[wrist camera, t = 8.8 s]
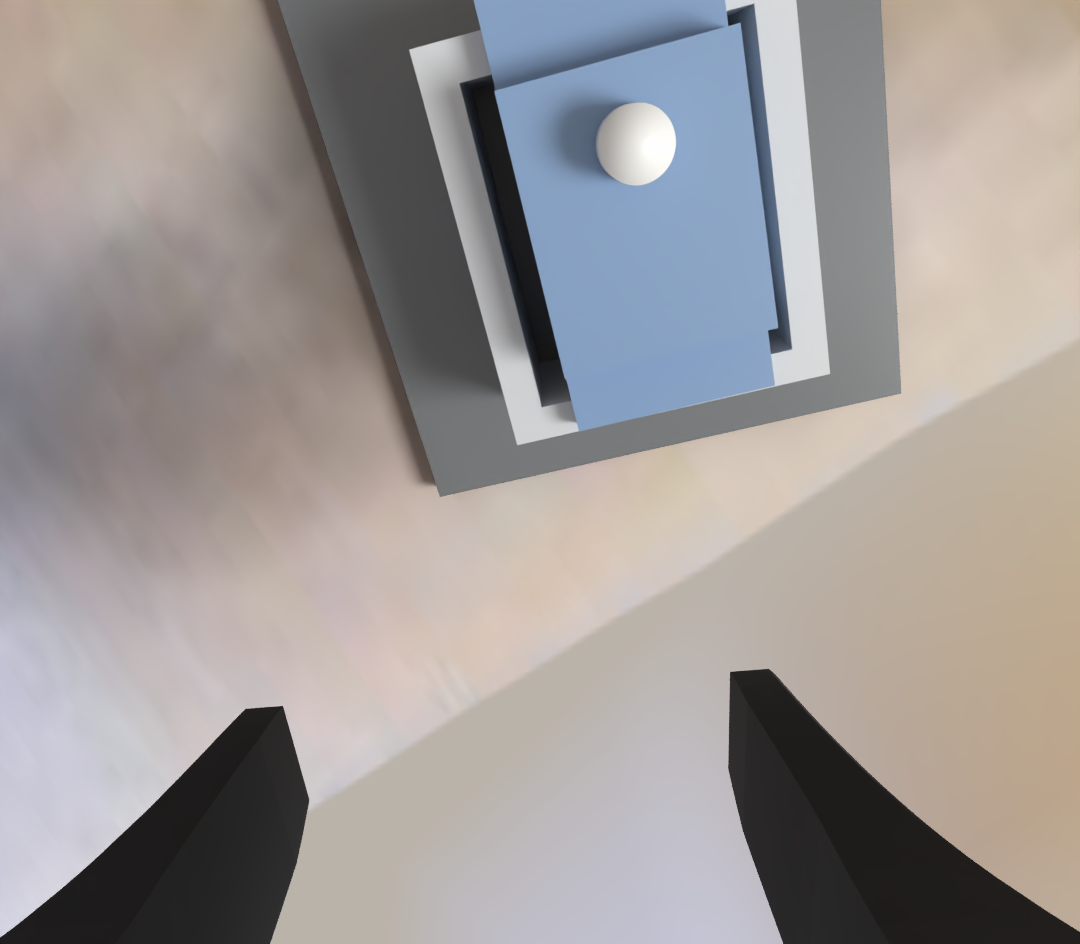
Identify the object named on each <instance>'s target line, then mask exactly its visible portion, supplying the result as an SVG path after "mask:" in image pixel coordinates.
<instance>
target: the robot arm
mask: <svg viewBox="0 0 1080 944" xmlns="http://www.w3.org/2000/svg"><path fill="white" fill-rule="evenodd" d="M729 714H730V716H729V766H728V768H729V773H730V778H731V782H732V787H733V791H734V795H735V800H736V804H737V808H738V812H739V816H740V820H741V824H742V828H743V832H744V835H745V838H746V841H747V844H748V846H749V849H750V852H751V855H752V858H753V861H754V863H755V866H756V869H757V872H758V875H759V877H760V880H761V883H762V886H763V889H764V891H765V894H766V897H767V900H768V902H769V905H770V908H771V911H772V914H773V916H774V919H775V922H776V925H777V927H778V930H779V933H780V935H781V938H782V941H783V944H1080V932H1079V931H1077V930H1076V929H1074V928H1073V927H1071V926H1069V925H1068V924H1066V923H1064V922H1063V921H1061V920H1060V919H1058V918H1057V917H1055V916H1053V915H1052V914H1050V913H1048V912H1047V911H1046V910H1044V909H1042V908H1041V907H1040V906H1038V905H1037V904H1035V903H1034V902H1032V901H1031V900H1029V899H1028V898H1026V897H1025V896H1023V895H1022V894H1020V893H1019V892H1017V891H1016V890H1014V889H1013V888H1011V887H1010V886H1008V885H1007V884H1005V883H1004V882H1002V881H1001V880H999V879H998V878H996V877H995V876H993V875H992V874H991V873H989V872H988V871H987V870H985V869H984V868H982V867H981V866H980V865H978V864H977V863H975V862H974V861H973V860H971V859H970V858H969V857H967V856H966V855H965V854H963V853H962V852H961V851H960V850H958V849H957V848H956V847H954V846H953V845H952V844H951V843H949V842H948V841H947V840H945V839H944V838H943V837H942V836H940V835H939V834H938V833H937V832H935V831H934V830H933V829H932V828H931V827H929V826H928V825H927V824H926V823H924V822H923V821H922V820H921V819H920V818H919V817H917V816H916V815H915V814H914V813H913V812H911V811H910V810H909V809H908V808H907V807H906V806H905V805H903V804H902V803H901V802H900V801H899V800H898V799H896V797H895V796H893V795H892V794H891V793H890V792H889V791H887V789H886V788H884V787H883V786H882V785H881V784H880V783H879V782H878V781H877V780H876V779H875V778H874V777H872V775H870V774H869V773H868V772H867V771H866V770H865V769H864V768H863V767H862V766H861V765H860V764H859V763H858V762H857V761H856V760H855V759H854V758H853V757H852V756H851V755H850V754H849V753H848V752H847V751H846V750H845V749H844V748H843V747H842V746H841V745H840V744H839V743H837V741H836V740H835V739H834V738H833V737H832V736H831V735H830V734H829V733H828V732H827V731H826V730H825V729H824V728H823V727H822V726H821V725H820V724H819V723H818V721H817V720H816V719H815V718H814V717H813V716H812V715H811V714H810V713H809V712H808V711H807V710H806V709H805V707H804V706H803V705H802V704H801V703H800V702H799V701H798V700H797V699H796V698H795V696H794V695H793V694H792V693H791V692H790V691H789V690H788V689H787V687H786V686H785V685H784V684H783V683H782V682H781V681H780V679H779V678H778V677H777V676H776V675H775V674H774V673H773V672H772V671H771V670H769V669H763V670H750V671H736V672H730V712H729ZM308 804H309V797H308V794H307V790H306V787H305V783H304V780H303V776H302V772H301V769H300V765H299V762H298V758H297V755H296V751H295V747H294V744H293V740H292V737H291V733H290V730H289V726H288V722H287V719H286V715H285V712H284V708H283V706H278V707H265V708H252V709H245V710H244V711H243V712H242V713H241V714H240V715H239V716H238V717H237V718H236V719H235V720H234V721H233V722H232V723H231V724H230V725H229V726H228V727H227V729H226V730H225V731H224V732H223V733H222V734H221V735H220V736H219V737H218V738H217V739H216V740H215V741H214V742H213V743H212V744H211V745H210V746H209V747H208V748H207V750H206V751H205V752H204V753H203V754H202V755H201V756H200V757H199V758H198V759H197V760H196V761H195V762H194V763H193V764H192V765H191V766H190V767H189V768H188V769H187V770H186V771H185V772H184V773H183V774H182V776H181V777H180V778H179V779H178V780H177V781H176V782H175V783H174V784H173V785H172V786H171V787H170V788H169V789H168V790H167V791H166V792H165V793H164V794H163V795H162V796H161V797H160V798H159V799H158V800H157V801H156V802H155V803H154V804H153V805H152V806H151V807H150V808H149V809H148V810H147V811H146V812H145V813H144V814H143V815H142V816H141V817H140V818H139V819H138V820H136V821H135V822H134V823H133V824H132V825H131V826H130V827H129V828H128V829H127V830H126V831H125V832H124V833H123V834H122V835H121V836H119V837H118V838H117V839H116V840H115V841H114V842H113V843H112V844H111V845H110V846H109V847H108V848H107V849H106V850H105V851H104V852H103V853H101V854H100V855H99V856H98V857H97V858H96V859H95V860H94V861H93V862H92V863H91V864H90V865H88V866H87V867H86V868H85V869H84V870H83V871H82V872H81V873H79V874H78V875H77V876H76V877H75V878H74V879H72V880H71V881H70V882H69V883H68V884H67V885H65V886H64V887H63V888H62V889H61V890H60V891H58V892H57V893H56V894H55V895H53V896H52V897H51V898H50V899H49V900H47V901H46V902H45V903H44V904H42V905H41V906H40V907H39V908H38V909H36V910H35V911H34V912H33V913H31V914H30V915H29V916H28V917H27V918H25V919H24V920H23V921H21V922H20V923H19V924H18V925H16V926H15V927H14V928H13V929H11V930H10V931H9V932H7V933H6V934H4V935H3V936H2V937H0V944H270V942H271V939H272V936H273V933H274V930H275V927H276V924H277V921H278V918H279V915H280V912H281V909H282V906H283V903H284V900H285V897H286V894H287V891H288V888H289V885H290V882H291V879H292V876H293V872H294V869H295V866H296V863H297V858H298V854H299V848H300V844H301V840H302V835H303V830H304V825H305V820H306V814H307V809H308Z"/></svg>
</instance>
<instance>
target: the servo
mask: <svg viewBox="0 0 1080 944" xmlns="http://www.w3.org/2000/svg"><path fill="white" fill-rule="evenodd" d="M474 4H475V8H476V12H477V16H478V20H479V24H480V28H481V32H482V37H483V41H484V45H485V49H486V53H487V57H488V61H489V65H490V69H491V73H492V77H493V82H494V86H495V90H496V91H494V92H495V96H496V100H497V104H498V108H499V112H500V116H501V120H502V125H503V129H504V133H505V137H506V141H507V145H508V149H509V153H510V157H511V161H512V165H513V169H514V174H515V178H516V182H517V186H518V190H519V194H520V198H521V202H522V206H523V210H524V214H525V218H526V222H527V227H528V231H529V235H530V239H531V243H532V247H533V251H534V255H535V259H536V263H537V267H538V271H539V276H540V280H541V284H542V288H543V292H544V296H545V300H546V304H547V308H548V312H549V316H550V320H551V324H552V329H553V333H554V337H555V341H556V345H557V349H558V353H559V357H560V361H561V365H562V369H563V373H564V377H565V379H566V380H567V384H568V388H569V392H570V397H571V401H572V405H573V409H574V413H575V417H576V421H577V425H578V429H579V431H584V430H588V429H592V428H596V427H601V426H605V425H609V424H613V423H618V422H622V421H626V420H630V419H635V418H639V417H643V416H647V415H652V414H656V413H660V412H664V411H669V410H673V409H677V408H681V407H686V406H690V405H694V404H698V403H703V402H707V401H711V400H716V399H720V398H724V397H728V396H733V395H737V394H741V393H745V392H750V391H754V390H758V389H762V388H767V387H771V386H775V381H774V374H773V366H772V358H771V351H770V343H769V335H768V330H772V329H776V328H778V321H777V313H776V305H775V297H774V289H773V281H772V273H771V265H770V257H769V248H768V240H767V232H766V224H765V216H764V208H763V200H762V192H761V184H760V176H759V168H758V160H757V152H756V143H755V135H754V127H753V119H752V111H751V103H750V95H749V87H748V79H747V71H746V63H745V55H744V47H743V39H742V30H741V23H738V24H734V25H730V26H728V19H727V11H726V3H725V0H474Z"/></svg>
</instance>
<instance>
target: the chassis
mask: <svg viewBox="0 0 1080 944" xmlns="http://www.w3.org/2000/svg"><path fill="white" fill-rule="evenodd" d="M278 3H279V6H280V9H281V12H282V15H283V19H284V22H285V25H286V28H287V31H288V34H289V37H290V40H291V43H292V46H293V49H294V52H295V55H296V58H297V61H298V64H299V67H300V70H301V74H302V77H303V80H304V83H305V86H306V89H307V92H308V95H309V98H310V101H311V104H312V107H313V110H314V113H315V116H316V119H317V122H318V125H319V128H320V132H321V135H322V138H323V141H324V144H325V147H326V150H327V153H328V156H329V159H330V162H331V165H332V168H333V171H334V174H335V177H336V180H337V183H338V187H339V190H340V193H341V196H342V199H343V202H344V205H345V208H346V211H347V214H348V217H349V220H350V223H351V226H352V229H353V232H354V235H355V238H356V242H357V245H358V248H359V251H360V254H361V257H362V260H363V263H364V266H365V269H366V272H367V275H368V278H369V281H370V284H371V287H372V290H373V293H374V297H375V300H376V303H377V306H378V309H379V312H380V315H381V318H382V321H383V324H384V327H385V330H386V333H387V336H388V339H389V342H390V345H391V348H392V351H393V355H394V358H395V361H396V364H397V367H398V370H399V373H400V376H401V379H402V382H403V385H404V388H405V391H406V394H407V397H408V400H409V403H410V406H411V410H412V413H413V416H414V419H415V422H416V425H417V428H418V431H419V434H420V437H421V440H422V443H423V446H424V449H425V452H426V455H427V458H428V461H429V465H430V468H431V471H432V474H433V477H434V480H435V483H436V486H437V489H438V492H439V495H440V497H441V496H446V495H450V494H455V493H459V492H464V491H468V490H473V489H477V488H481V487H486V486H490V485H495V484H499V483H504V482H508V481H513V480H517V479H522V478H526V477H530V476H535V475H539V474H544V473H548V472H553V471H557V470H562V469H566V468H571V467H575V466H580V465H584V464H588V463H593V462H597V461H602V460H606V459H611V458H615V457H620V456H624V455H629V454H633V453H637V452H642V451H646V450H651V449H655V448H660V447H664V446H669V445H673V444H678V443H682V442H687V441H691V440H695V439H700V438H704V437H709V436H713V435H718V434H722V433H727V432H731V431H736V430H740V429H745V428H749V427H753V426H758V425H762V424H767V423H771V422H776V421H780V420H785V419H789V418H794V417H798V416H802V415H807V414H811V413H816V412H820V411H825V410H829V409H834V408H838V407H843V406H847V405H852V404H856V403H860V402H865V401H869V400H874V399H878V398H883V397H887V396H892V395H896V394H901V380H900V361H899V342H898V323H897V303H896V284H895V265H894V246H893V227H892V207H891V188H890V169H889V150H888V131H887V111H886V92H885V73H884V54H883V35H882V15H881V0H725V3H726V11H727V19H728V26H730V25H734V24H738V23H741V30H742V39H743V47H744V55H745V63H746V71H747V79H748V87H749V95H750V103H751V111H752V119H753V127H754V135H755V143H756V152H757V160H758V168H759V176H760V184H761V192H762V200H763V208H764V216H765V224H766V232H767V240H768V248H769V257H770V265H771V273H772V281H773V289H774V297H775V305H776V313H777V321H778V328H776V329H772V330H768V335H769V343H770V351H771V358H772V366H773V374H774V381H775V386H771V387H767V388H762V389H758V390H754V391H750V392H745V393H741V394H737V395H733V396H728V397H724V398H720V399H716V400H711V401H707V402H703V403H698V404H694V405H690V406H686V407H681V408H677V409H673V410H669V411H664V412H660V413H656V414H652V415H647V416H643V417H639V418H635V419H630V420H626V421H622V422H618V423H613V424H609V425H605V426H601V427H596V428H592V429H588V430H584V431H579V429H578V425H577V421H576V417H575V413H574V409H573V405H572V401H571V397H570V392H569V388H568V384H567V380H566V379H565V377H564V373H563V369H562V365H561V361H560V357H559V353H558V349H557V345H556V341H555V337H554V333H553V329H552V324H551V320H550V316H549V312H548V308H547V304H546V300H545V296H544V292H543V288H542V284H541V280H540V276H539V271H538V267H537V263H536V259H535V255H534V251H533V247H532V243H531V239H530V235H529V231H528V227H527V222H526V218H525V214H524V210H523V206H522V202H521V198H520V194H519V190H518V186H517V182H516V178H515V174H514V169H513V165H512V161H511V157H510V153H509V149H508V145H507V141H506V137H505V133H504V129H503V125H502V120H501V116H500V112H499V108H498V104H497V100H496V96H495V92H494V91H496V90H495V86H494V82H493V77H492V73H491V69H490V65H489V61H488V57H487V53H486V49H485V45H484V41H483V37H482V32H481V28H480V24H479V20H478V16H477V12H476V8H475V4H474V0H278Z"/></svg>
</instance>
